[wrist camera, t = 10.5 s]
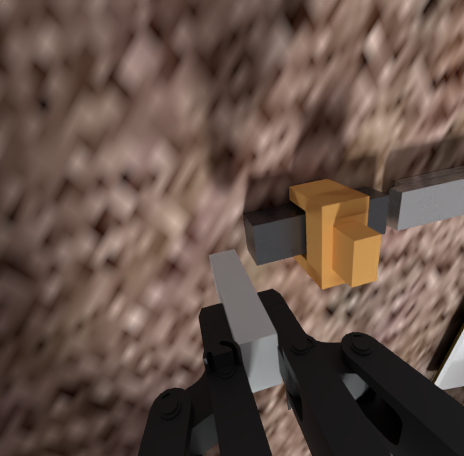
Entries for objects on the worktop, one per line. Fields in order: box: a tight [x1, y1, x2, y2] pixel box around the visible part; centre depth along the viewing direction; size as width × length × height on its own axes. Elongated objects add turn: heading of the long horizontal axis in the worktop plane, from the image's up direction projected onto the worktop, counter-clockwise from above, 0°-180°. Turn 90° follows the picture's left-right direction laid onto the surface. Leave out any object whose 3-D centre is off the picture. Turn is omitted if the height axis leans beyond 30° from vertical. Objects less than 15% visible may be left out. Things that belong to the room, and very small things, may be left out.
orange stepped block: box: [289, 179, 381, 289], centre depth 18 cm, size 3×6×6 cm, turn 8°
